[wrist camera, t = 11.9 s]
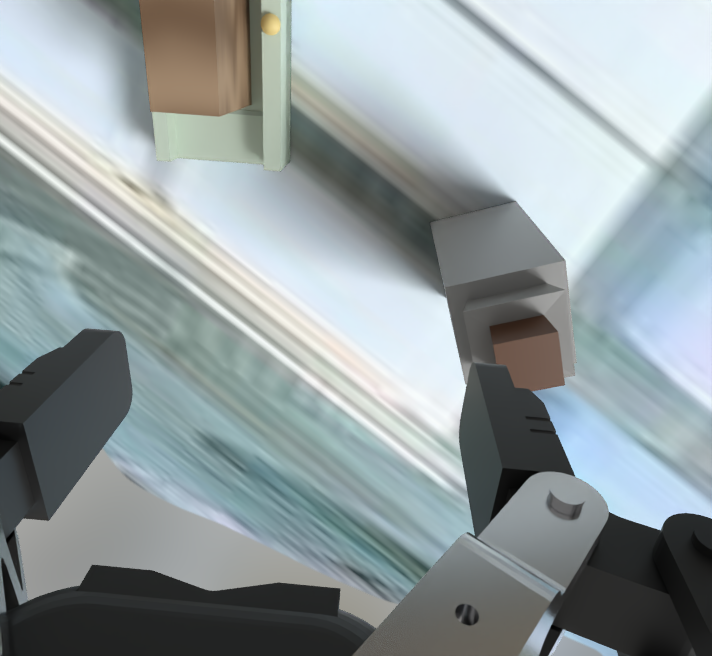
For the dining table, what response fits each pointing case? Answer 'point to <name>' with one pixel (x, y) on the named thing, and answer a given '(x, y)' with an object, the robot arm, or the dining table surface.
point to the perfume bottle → (507, 295)
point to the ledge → (252, 123)
